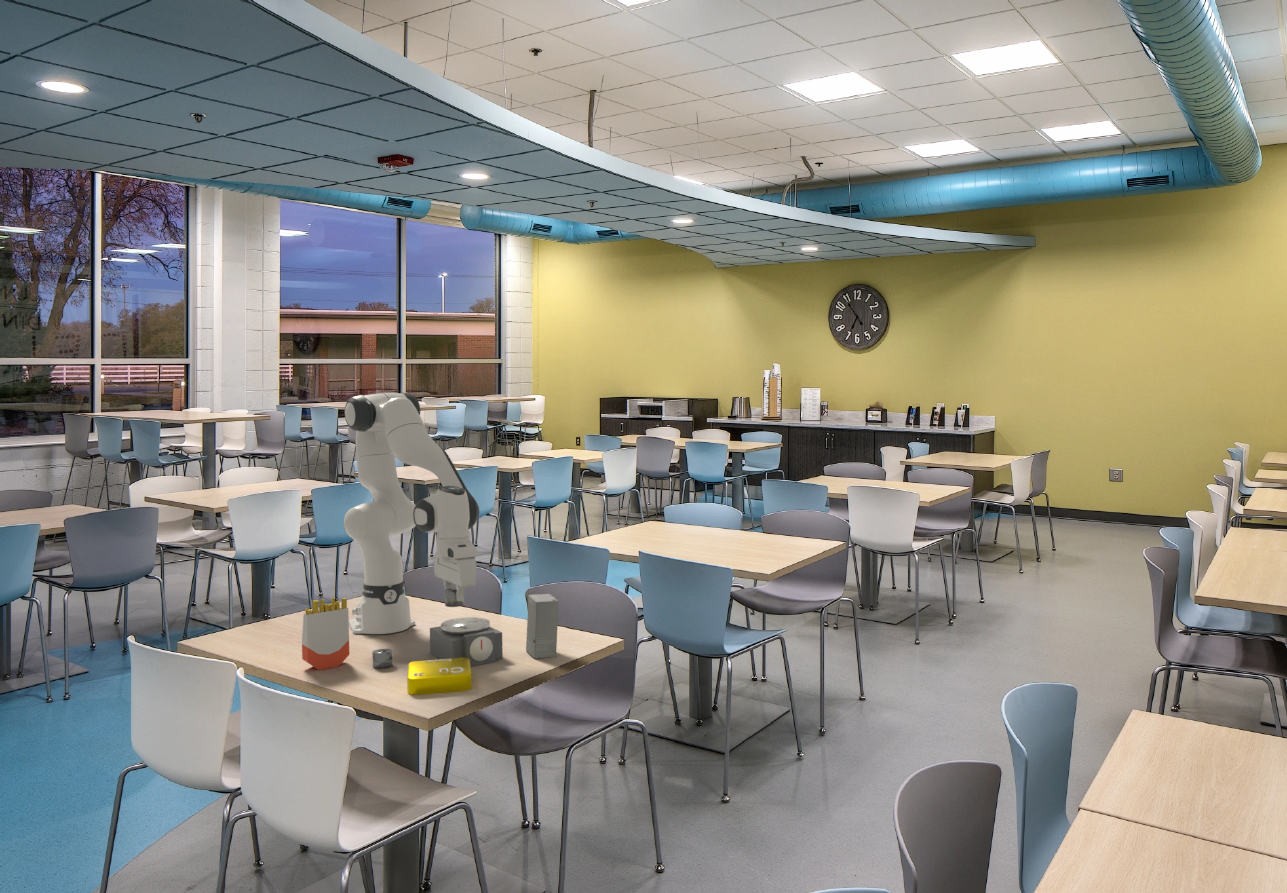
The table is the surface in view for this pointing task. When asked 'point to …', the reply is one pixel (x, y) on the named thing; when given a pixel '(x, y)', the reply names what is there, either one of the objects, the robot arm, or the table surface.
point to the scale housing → (467, 645)
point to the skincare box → (542, 626)
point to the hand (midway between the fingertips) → (454, 598)
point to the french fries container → (326, 634)
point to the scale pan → (465, 625)
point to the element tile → (439, 676)
